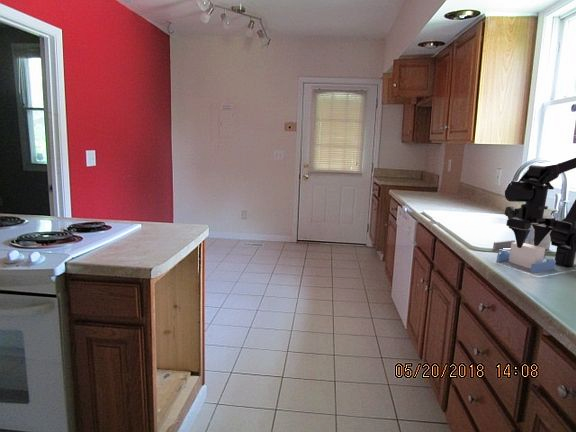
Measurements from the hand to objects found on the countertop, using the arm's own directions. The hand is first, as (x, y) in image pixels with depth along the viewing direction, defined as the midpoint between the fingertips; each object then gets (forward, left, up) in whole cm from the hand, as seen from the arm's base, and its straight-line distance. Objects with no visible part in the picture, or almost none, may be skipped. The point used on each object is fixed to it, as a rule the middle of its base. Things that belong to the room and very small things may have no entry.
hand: (527, 246), depth 135 cm
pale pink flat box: (0, 0, -7) cm, 7 cm away
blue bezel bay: (0, 0, -7) cm, 7 cm away
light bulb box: (-30, -16, -7) cm, 35 cm away
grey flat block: (-13, -11, -7) cm, 18 cm away
